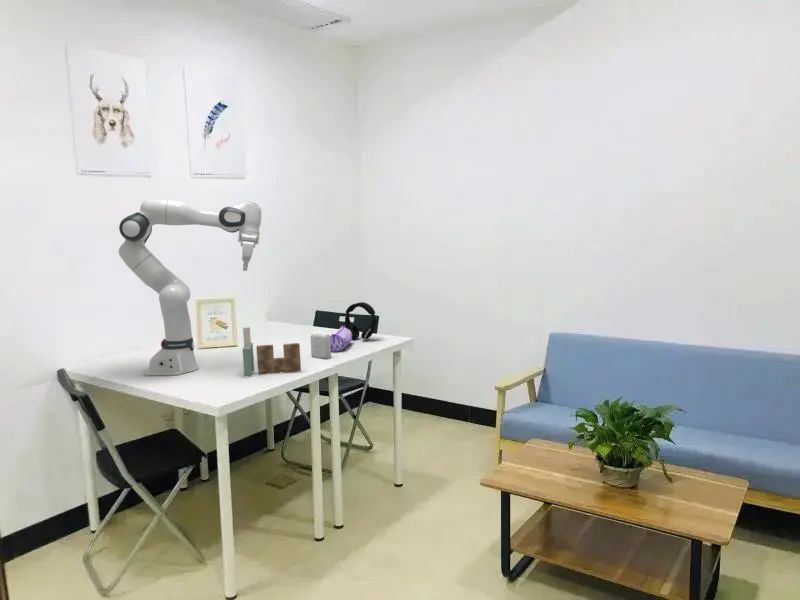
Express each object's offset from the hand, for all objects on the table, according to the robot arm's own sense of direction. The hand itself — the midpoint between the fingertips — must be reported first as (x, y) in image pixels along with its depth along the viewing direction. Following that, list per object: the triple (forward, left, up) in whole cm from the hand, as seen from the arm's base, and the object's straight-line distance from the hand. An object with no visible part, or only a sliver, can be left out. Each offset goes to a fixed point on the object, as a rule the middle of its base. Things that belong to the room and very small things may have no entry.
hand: (245, 270), depth 273 cm
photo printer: (+31, +9, -44) cm, 54 cm away
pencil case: (+41, +27, -44) cm, 66 cm away
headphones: (+53, +41, -44) cm, 80 cm away
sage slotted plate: (0, -12, -43) cm, 45 cm away
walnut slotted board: (+13, -14, -43) cm, 48 cm away
